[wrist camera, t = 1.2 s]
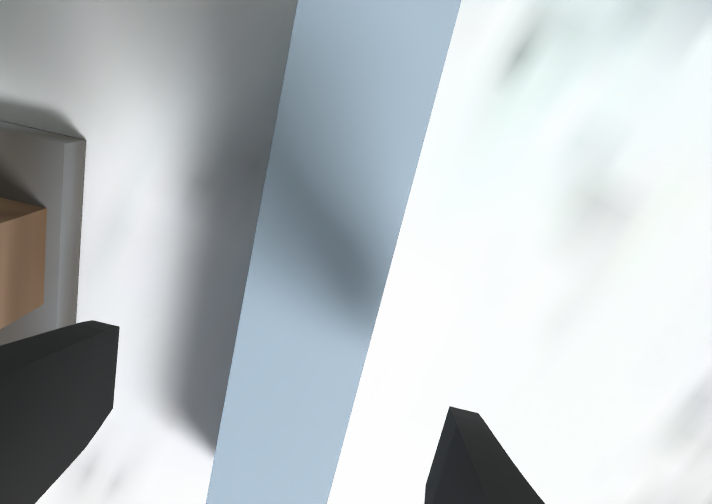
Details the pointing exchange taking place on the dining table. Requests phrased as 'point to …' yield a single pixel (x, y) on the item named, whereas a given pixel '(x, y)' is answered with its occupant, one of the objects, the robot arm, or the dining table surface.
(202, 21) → the dining table surface
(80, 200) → the stand
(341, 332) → the beam
